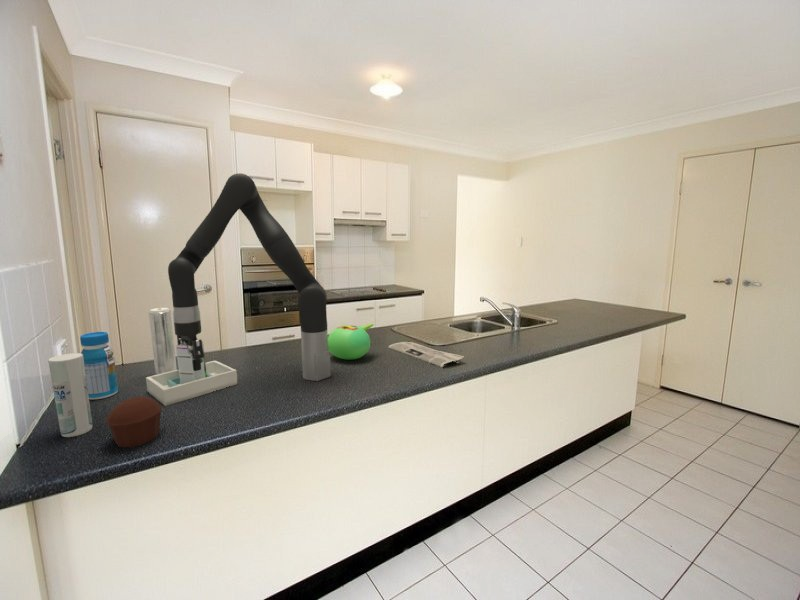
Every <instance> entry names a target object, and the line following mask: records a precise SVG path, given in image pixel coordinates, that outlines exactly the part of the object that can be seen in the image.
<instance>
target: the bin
mask: <svg viewBox="0 0 800 600" xmlns="http://www.w3.org/2000/svg"><path fill="white" fill-rule="evenodd" d="M205 364H206V373H207V377H206V378H203V379H199V380H195V381H192V382H188V383H184V384H181V385H180V376H179V368H178V369H177V370H174V371H170V372H166V373H162V374H158V375H156V374H154V375H151V376H147V377H145V380H146V390H147V393H148V392H149V395H151V396H152V397H153V398H155V399H156V400H157V401H159V402H160V403H161V404H163V406H165V407H168V406H171V405H174V404H177V403H181V402H183V401H187V400H190V399H194V398H198V397H200V396H204V395H206V394H210V393H214V392H216V390H217V391H220V390H224V389H226V387H227V388H229V386H230V387H232V386H237V385H238V373H237V371H238V370H237V369H235V368H233V367H230V366H228V365H226V364H224V363H222V362H220V361H218V360H212V361H207V362H205ZM213 391H214V392H213Z"/></svg>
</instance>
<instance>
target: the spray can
mask: <svg viewBox="0 0 800 600" xmlns="http://www.w3.org/2000/svg"><path fill="white" fill-rule="evenodd" d="M47 362H48V367H49V373H50V379H51V385H52V390H53V391H52V392H53V396H54V403H55V407H56V415H57V419H58V425H59V426H58V427H59V430H60V431H59V432H60V435H61V436H62V437H64V438H71V437H77V436H80V435H84V434H86V433H88V432H89V431H92V429H93V419H92V412H91V406H90V404H91V403H90V399H89V396H88V389H87V381H86V374H85V367H84V359H83V355H82V354H81V352H80V353H79V352H77V353H76V352H73V353H72V352H71V353H65V354H60V355H56V356H52V357H50V358H48V361H47Z"/></svg>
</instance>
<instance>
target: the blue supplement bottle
mask: <svg viewBox="0 0 800 600" xmlns="http://www.w3.org/2000/svg"><path fill="white" fill-rule="evenodd" d="M79 339H80V340H79V341H80V345H81V347H83V349H82V350H81V352H80V353H81V354H82V355H83V359H84V367H85V374H86V381H87V389H88V396H89V400H93V401H94V400H100V399H102V400H103V399H106V398H110V397H112V396H114V395H115V394H118V392H119V387H118V379H117V372H116V360H115V358H114V356H113V355H114V350H113V349H112V348H111V347H110V346H109V341H110V339H109V334H108V332H107V331H95V332H94V331H93V332H88V333H84V334H81V335H80V337H79Z"/></svg>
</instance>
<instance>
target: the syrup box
mask: <svg viewBox="0 0 800 600" xmlns="http://www.w3.org/2000/svg"><path fill="white" fill-rule="evenodd" d="M188 347H189V349H190V350H193V346H188ZM202 347H203V355H204V357H203V358H201V359H200V361H201V370H198V371H194V370H193V363H192V357H191V355H190V354H188V351H187V346H185V345H184V344H180V345H178V344H177V345H175V350H176V351H175V352H176V358H177V359H176V360H177V366H178V367H177V368H178V369H179V376H180V385H181V384H184V383H188V382H192V381H195V380H199V379H203V378H206V377H207V373H206V364H205V363H206V355H205V347H204V342H203V341H202ZM193 354H194V353H193Z"/></svg>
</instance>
